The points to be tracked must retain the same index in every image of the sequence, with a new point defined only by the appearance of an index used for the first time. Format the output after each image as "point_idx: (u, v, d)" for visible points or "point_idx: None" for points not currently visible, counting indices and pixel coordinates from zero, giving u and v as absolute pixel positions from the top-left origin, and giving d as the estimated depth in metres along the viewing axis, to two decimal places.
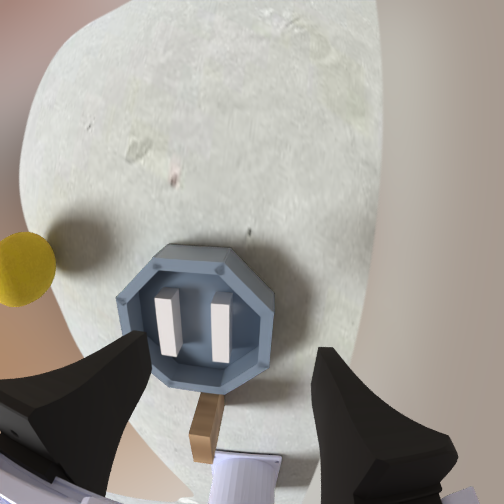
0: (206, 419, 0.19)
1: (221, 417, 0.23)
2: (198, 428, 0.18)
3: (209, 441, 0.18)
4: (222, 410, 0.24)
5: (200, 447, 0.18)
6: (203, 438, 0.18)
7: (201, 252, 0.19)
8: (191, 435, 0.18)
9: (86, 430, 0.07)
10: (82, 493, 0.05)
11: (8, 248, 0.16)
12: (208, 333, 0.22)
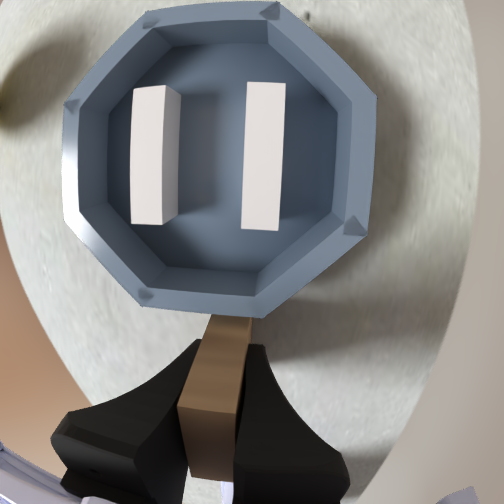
0: (223, 371, 0.08)
1: None
2: (203, 392, 0.07)
3: (232, 427, 0.07)
4: None
5: (207, 443, 0.07)
6: (216, 418, 0.07)
7: None
8: (184, 410, 0.07)
9: (172, 454, 0.07)
10: None
11: None
12: (231, 185, 0.11)
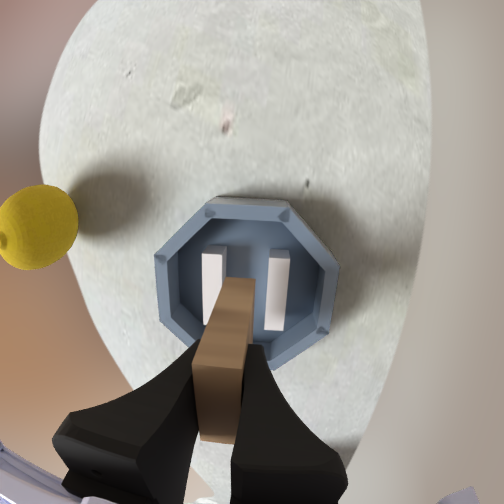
0: (231, 337, 0.10)
1: None
2: (214, 353, 0.09)
3: (239, 383, 0.09)
4: None
5: (216, 401, 0.09)
6: (225, 374, 0.08)
7: (258, 201, 0.17)
8: (198, 367, 0.08)
9: (173, 454, 0.07)
10: None
11: (26, 197, 0.14)
12: (257, 299, 0.20)
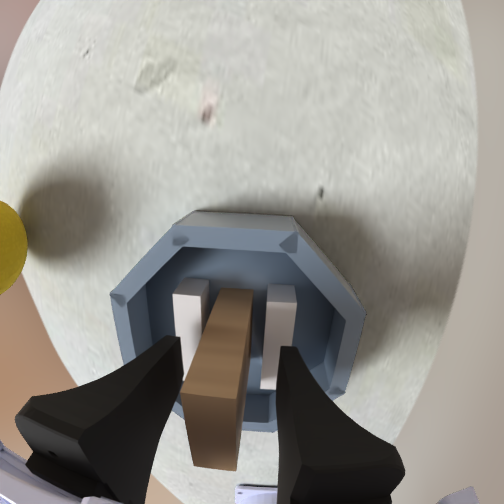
0: (224, 359, 0.09)
1: (247, 376, 0.13)
2: (205, 379, 0.08)
3: (233, 412, 0.07)
4: (249, 364, 0.14)
5: (209, 429, 0.08)
6: (218, 404, 0.07)
7: (251, 219, 0.12)
8: (187, 396, 0.07)
9: (129, 444, 0.07)
10: None
11: None
12: (251, 347, 0.15)
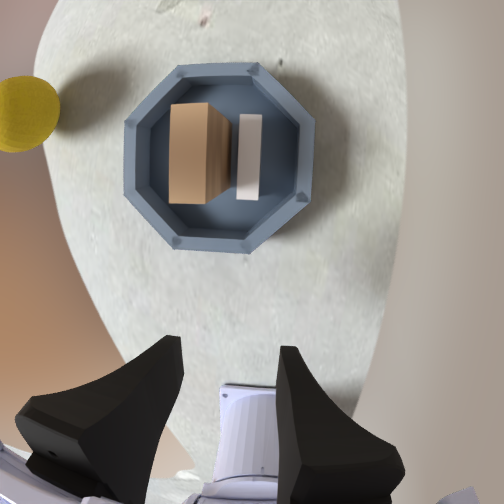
0: None
1: (225, 183, 0.16)
2: None
3: (205, 117, 0.11)
4: (227, 178, 0.17)
5: (186, 141, 0.11)
6: (195, 110, 0.10)
7: None
8: (175, 107, 0.10)
9: (129, 444, 0.07)
10: None
11: (15, 77, 0.12)
12: None
